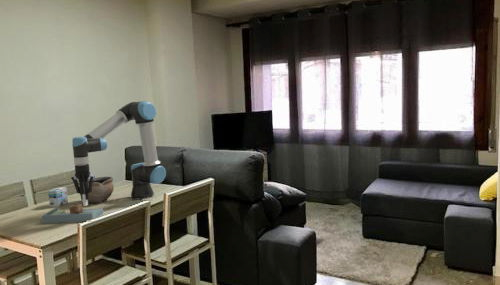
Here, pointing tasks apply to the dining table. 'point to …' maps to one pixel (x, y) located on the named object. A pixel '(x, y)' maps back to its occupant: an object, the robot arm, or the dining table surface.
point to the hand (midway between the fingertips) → (85, 205)
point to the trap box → (70, 216)
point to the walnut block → (76, 209)
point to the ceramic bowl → (100, 189)
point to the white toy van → (58, 196)
